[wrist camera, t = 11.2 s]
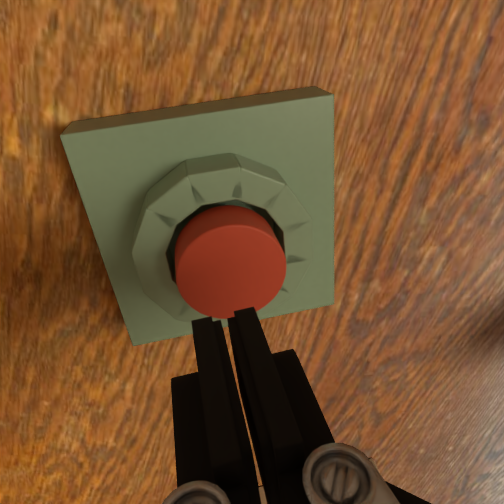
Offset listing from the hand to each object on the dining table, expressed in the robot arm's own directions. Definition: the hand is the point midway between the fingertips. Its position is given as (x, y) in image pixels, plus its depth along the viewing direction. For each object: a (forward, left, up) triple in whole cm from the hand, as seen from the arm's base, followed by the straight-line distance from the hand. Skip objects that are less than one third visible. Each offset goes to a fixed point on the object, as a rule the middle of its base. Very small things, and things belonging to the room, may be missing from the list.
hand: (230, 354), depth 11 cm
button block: (+1, 0, -9) cm, 9 cm away
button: (+1, 0, -6) cm, 6 cm away
